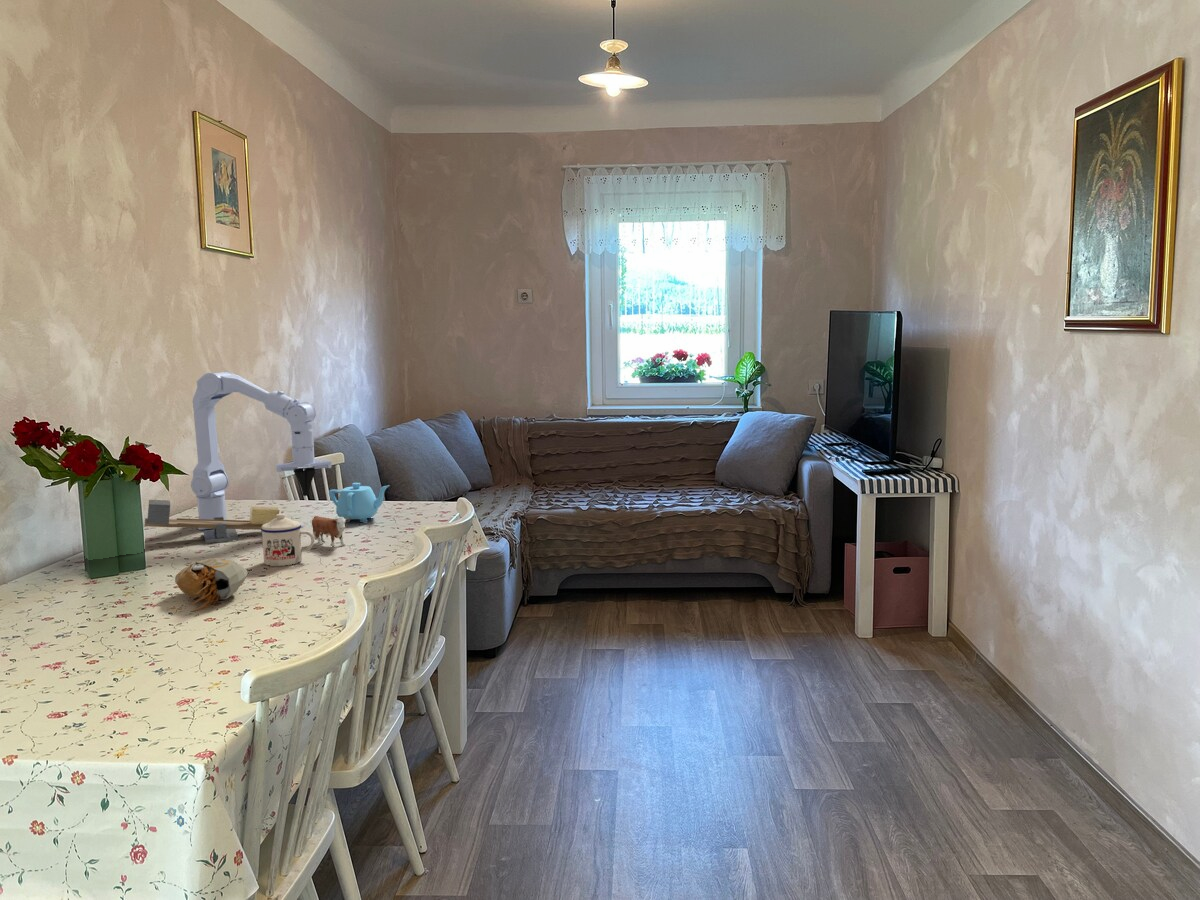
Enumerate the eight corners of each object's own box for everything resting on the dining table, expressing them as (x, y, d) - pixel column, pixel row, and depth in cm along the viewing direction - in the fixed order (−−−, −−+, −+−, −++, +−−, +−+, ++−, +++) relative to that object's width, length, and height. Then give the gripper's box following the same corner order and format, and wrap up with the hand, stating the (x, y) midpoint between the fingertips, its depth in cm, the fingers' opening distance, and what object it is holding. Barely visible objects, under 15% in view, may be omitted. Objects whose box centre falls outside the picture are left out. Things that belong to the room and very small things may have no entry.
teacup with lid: (259, 568, 211) (256, 519, 209) (266, 558, 220) (263, 511, 218) (313, 565, 213) (310, 516, 211) (317, 555, 222) (315, 509, 220)
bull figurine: (341, 550, 226) (339, 519, 225) (309, 543, 234) (307, 512, 233) (355, 547, 230) (353, 516, 229) (323, 540, 238) (321, 510, 237)
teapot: (329, 521, 264) (325, 483, 262) (374, 512, 273) (371, 476, 271) (346, 528, 254) (342, 490, 252) (393, 519, 263) (390, 481, 261)
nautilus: (228, 617, 176) (149, 624, 175) (260, 580, 197) (190, 586, 196) (222, 579, 175) (142, 585, 174) (255, 546, 196) (184, 551, 195)
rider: (249, 522, 247) (250, 506, 247) (276, 523, 250) (277, 507, 250) (250, 525, 244) (252, 509, 243) (277, 526, 247) (279, 510, 247)
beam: (145, 521, 237) (146, 499, 237) (287, 525, 254) (289, 505, 253) (144, 526, 231) (146, 504, 230) (291, 530, 247) (293, 509, 246)
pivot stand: (203, 534, 246) (202, 518, 246) (234, 531, 250) (233, 515, 249) (205, 543, 235) (204, 526, 235) (238, 540, 239) (237, 523, 238)
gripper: (277, 450, 243) (280, 500, 244) (332, 446, 249) (335, 495, 251) (274, 447, 249) (276, 495, 251) (328, 444, 255) (330, 491, 257)
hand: (305, 495), depth 251 cm, fingers closed
